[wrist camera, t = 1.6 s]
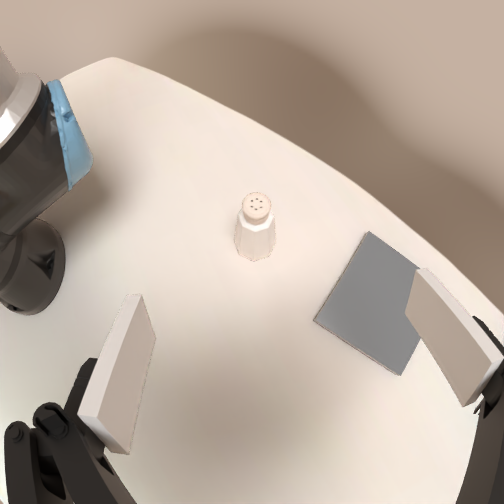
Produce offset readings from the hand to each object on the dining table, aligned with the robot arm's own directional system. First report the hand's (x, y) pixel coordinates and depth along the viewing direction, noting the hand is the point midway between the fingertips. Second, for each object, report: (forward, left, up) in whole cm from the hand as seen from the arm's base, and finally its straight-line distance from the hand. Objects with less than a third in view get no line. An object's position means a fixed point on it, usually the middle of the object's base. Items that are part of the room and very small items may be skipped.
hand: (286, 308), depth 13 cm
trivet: (+9, +13, -23) cm, 28 cm away
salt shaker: (-9, +7, -23) cm, 26 cm away
